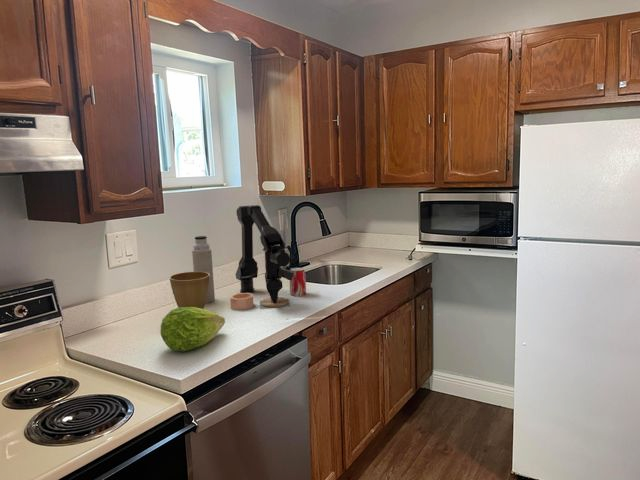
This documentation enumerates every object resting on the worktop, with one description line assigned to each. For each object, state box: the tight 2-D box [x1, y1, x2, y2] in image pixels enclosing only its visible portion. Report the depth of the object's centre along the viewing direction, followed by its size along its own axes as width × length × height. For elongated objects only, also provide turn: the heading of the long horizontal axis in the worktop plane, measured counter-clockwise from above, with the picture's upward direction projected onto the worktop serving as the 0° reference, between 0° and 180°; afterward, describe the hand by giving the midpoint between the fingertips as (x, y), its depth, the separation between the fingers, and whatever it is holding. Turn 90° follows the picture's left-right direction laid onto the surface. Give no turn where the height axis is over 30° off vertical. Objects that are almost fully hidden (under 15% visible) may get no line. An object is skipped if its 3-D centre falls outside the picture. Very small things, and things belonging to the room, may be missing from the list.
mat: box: [259, 299, 291, 310], centre depth 194 cm, size 12×12×1 cm
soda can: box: [289, 267, 307, 297], centre depth 207 cm, size 7×7×12 cm
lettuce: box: [159, 307, 226, 352], centre depth 155 cm, size 15×24×14 cm, turn 148°
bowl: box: [229, 292, 255, 311], centre depth 192 cm, size 9×9×5 cm
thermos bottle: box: [191, 235, 216, 304], centre depth 204 cm, size 8×8×28 cm
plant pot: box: [169, 271, 210, 309], centre depth 183 cm, size 15×15×16 cm
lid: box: [260, 295, 289, 309], centre depth 194 cm, size 11×11×4 cm
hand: (274, 300), depth 194 cm, fingers open, 9 cm apart
